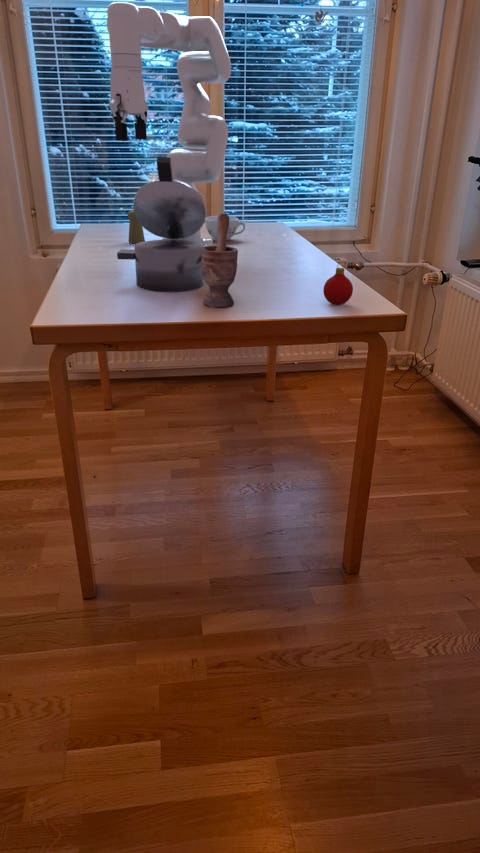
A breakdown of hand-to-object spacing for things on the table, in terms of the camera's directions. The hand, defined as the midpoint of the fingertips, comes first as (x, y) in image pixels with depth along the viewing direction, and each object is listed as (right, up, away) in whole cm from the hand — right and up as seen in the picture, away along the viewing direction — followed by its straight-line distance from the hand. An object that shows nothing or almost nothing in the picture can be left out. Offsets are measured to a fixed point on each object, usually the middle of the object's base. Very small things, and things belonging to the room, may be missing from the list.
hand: (131, 140), depth 153 cm
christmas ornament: (+52, -46, -11) cm, 70 cm away
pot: (+10, -37, +4) cm, 38 cm away
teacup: (+23, -6, +64) cm, 68 cm away
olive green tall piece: (-9, -9, +57) cm, 58 cm away
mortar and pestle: (+23, -45, -11) cm, 52 cm away
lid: (+10, -18, -3) cm, 21 cm away
